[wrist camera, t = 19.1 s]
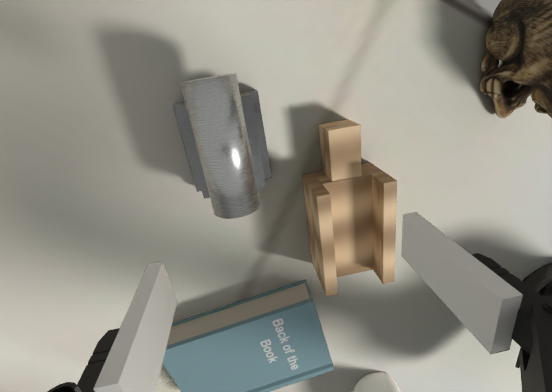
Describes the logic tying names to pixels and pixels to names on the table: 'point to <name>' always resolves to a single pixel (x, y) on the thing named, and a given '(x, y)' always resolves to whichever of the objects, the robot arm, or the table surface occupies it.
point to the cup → (376, 383)
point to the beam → (349, 210)
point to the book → (250, 344)
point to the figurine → (519, 56)
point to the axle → (222, 144)
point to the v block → (254, 136)
